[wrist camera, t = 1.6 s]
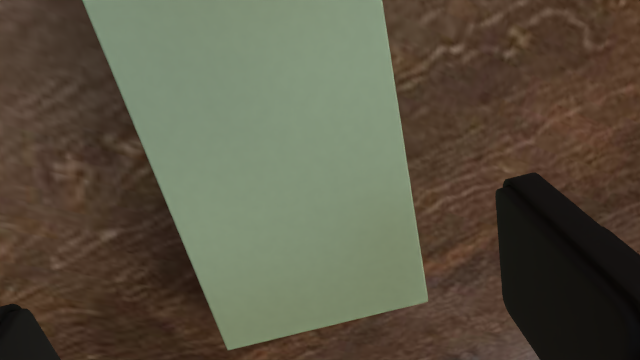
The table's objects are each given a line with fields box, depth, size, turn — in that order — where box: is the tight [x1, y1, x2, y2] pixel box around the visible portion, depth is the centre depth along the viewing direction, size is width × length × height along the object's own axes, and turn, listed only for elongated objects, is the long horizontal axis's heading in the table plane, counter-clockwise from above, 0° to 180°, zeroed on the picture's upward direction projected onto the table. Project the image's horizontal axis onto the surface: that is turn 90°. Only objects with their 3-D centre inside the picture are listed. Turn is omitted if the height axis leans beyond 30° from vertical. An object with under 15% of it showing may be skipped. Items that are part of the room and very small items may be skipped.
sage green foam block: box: [82, 0, 428, 350], centre depth 16 cm, size 13×7×2 cm, turn 12°
